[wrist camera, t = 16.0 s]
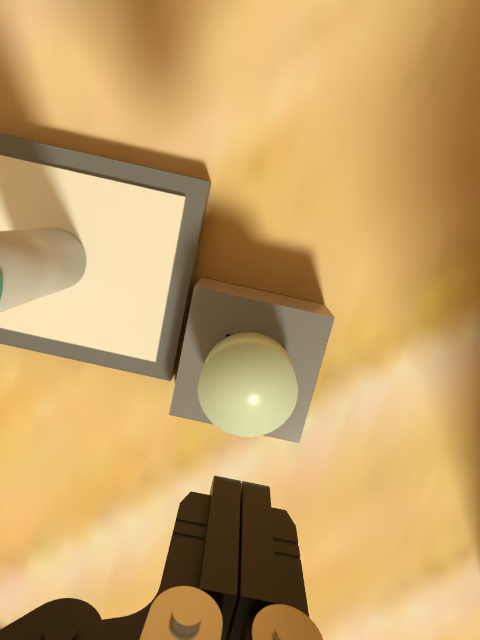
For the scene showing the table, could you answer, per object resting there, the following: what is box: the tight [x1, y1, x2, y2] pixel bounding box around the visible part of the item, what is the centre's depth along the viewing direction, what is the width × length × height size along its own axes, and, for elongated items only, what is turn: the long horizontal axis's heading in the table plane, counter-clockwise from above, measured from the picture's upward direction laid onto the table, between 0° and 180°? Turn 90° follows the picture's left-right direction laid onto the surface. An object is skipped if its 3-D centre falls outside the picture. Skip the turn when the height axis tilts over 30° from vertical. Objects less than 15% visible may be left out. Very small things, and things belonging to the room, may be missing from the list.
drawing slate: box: [0, 134, 211, 381], centre depth 23 cm, size 14×11×1 cm
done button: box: [198, 332, 298, 437], centre depth 20 cm, size 4×4×3 cm
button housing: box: [169, 277, 335, 443], centre depth 23 cm, size 7×7×3 cm
